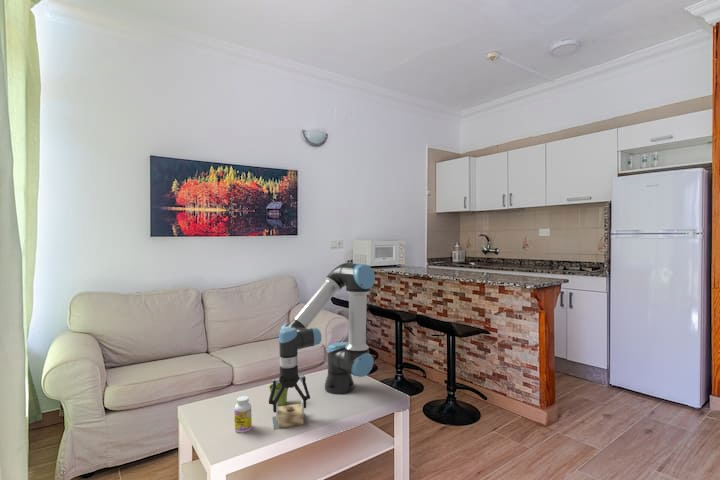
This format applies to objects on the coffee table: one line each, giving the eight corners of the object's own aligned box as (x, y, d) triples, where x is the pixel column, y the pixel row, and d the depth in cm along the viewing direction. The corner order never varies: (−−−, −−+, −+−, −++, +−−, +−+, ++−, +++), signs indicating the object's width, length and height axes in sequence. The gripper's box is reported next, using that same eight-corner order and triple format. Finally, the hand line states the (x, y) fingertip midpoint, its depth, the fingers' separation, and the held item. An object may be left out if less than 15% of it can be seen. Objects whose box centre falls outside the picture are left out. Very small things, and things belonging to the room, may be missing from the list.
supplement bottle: (231, 431, 161) (230, 400, 160) (241, 424, 167) (241, 394, 167) (245, 434, 158) (244, 402, 158) (255, 426, 164) (254, 396, 164)
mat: (304, 413, 176) (304, 412, 176) (308, 425, 165) (308, 424, 165) (272, 417, 172) (272, 416, 172) (273, 430, 161) (273, 429, 161)
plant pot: (285, 409, 180) (284, 390, 180) (265, 407, 182) (265, 389, 182) (292, 400, 190) (292, 382, 190) (274, 399, 192) (273, 381, 191)
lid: (300, 413, 175) (300, 401, 175) (303, 424, 165) (303, 411, 165) (277, 416, 172) (277, 404, 172) (278, 427, 162) (278, 414, 162)
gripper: (261, 371, 161) (263, 425, 162) (316, 365, 167) (317, 417, 168) (261, 365, 169) (262, 417, 169) (313, 359, 175) (315, 409, 175)
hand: (290, 417), depth 169 cm, fingers closed on lid, 10 cm apart
